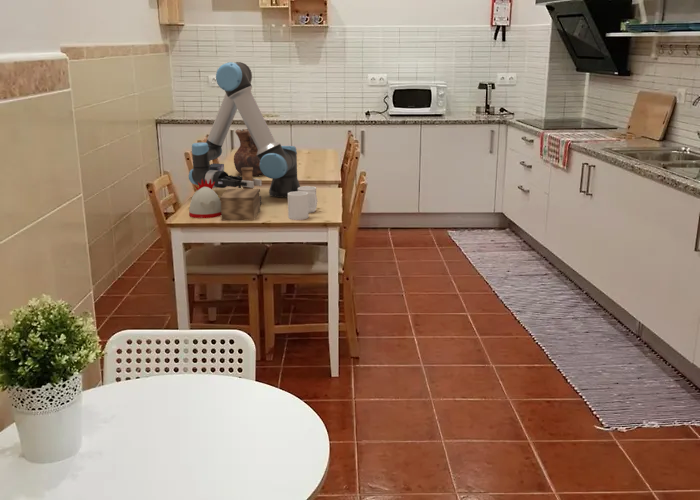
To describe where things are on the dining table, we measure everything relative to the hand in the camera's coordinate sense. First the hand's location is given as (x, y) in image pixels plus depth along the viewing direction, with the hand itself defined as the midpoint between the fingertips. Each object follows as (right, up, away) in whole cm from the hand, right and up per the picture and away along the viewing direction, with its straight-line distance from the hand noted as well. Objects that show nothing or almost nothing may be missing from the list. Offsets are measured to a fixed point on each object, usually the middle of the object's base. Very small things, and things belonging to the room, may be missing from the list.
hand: (257, 183), depth 302 cm
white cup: (+22, -13, -8) cm, 27 cm away
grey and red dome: (-19, -14, -12) cm, 27 cm away
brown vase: (-12, +12, +81) cm, 83 cm away
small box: (-28, +4, +51) cm, 58 cm away
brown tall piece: (-4, -8, +5) cm, 11 cm away
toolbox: (-4, -12, -7) cm, 15 cm away
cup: (+21, -16, -19) cm, 32 cm away
